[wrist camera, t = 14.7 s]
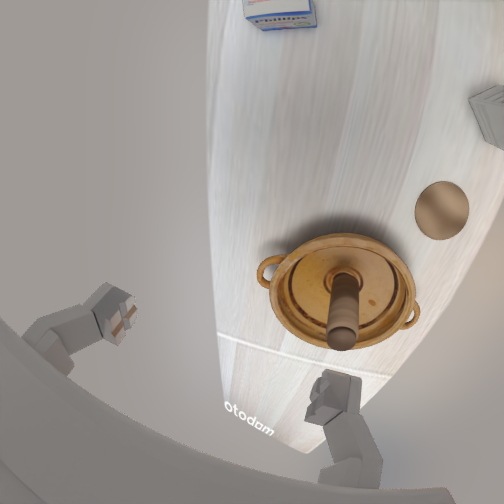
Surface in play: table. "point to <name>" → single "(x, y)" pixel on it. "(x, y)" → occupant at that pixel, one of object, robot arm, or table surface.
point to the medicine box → (280, 13)
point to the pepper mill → (343, 313)
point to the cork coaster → (442, 210)
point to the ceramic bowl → (320, 282)
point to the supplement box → (490, 114)
